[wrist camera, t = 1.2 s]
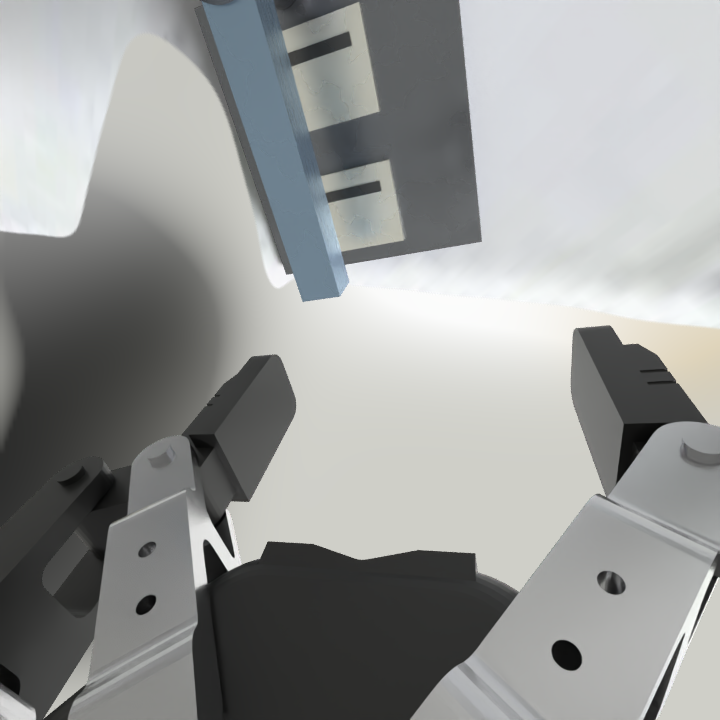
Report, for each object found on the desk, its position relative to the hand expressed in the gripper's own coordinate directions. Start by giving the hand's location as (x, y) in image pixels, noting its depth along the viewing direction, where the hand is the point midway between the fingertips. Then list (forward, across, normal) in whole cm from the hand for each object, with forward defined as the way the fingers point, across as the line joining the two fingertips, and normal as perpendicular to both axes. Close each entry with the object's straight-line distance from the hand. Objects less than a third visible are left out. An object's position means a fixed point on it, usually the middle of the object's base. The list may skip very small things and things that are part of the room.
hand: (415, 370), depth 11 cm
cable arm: (+16, +8, -7) cm, 19 cm away
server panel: (+23, +6, -6) cm, 24 cm away
